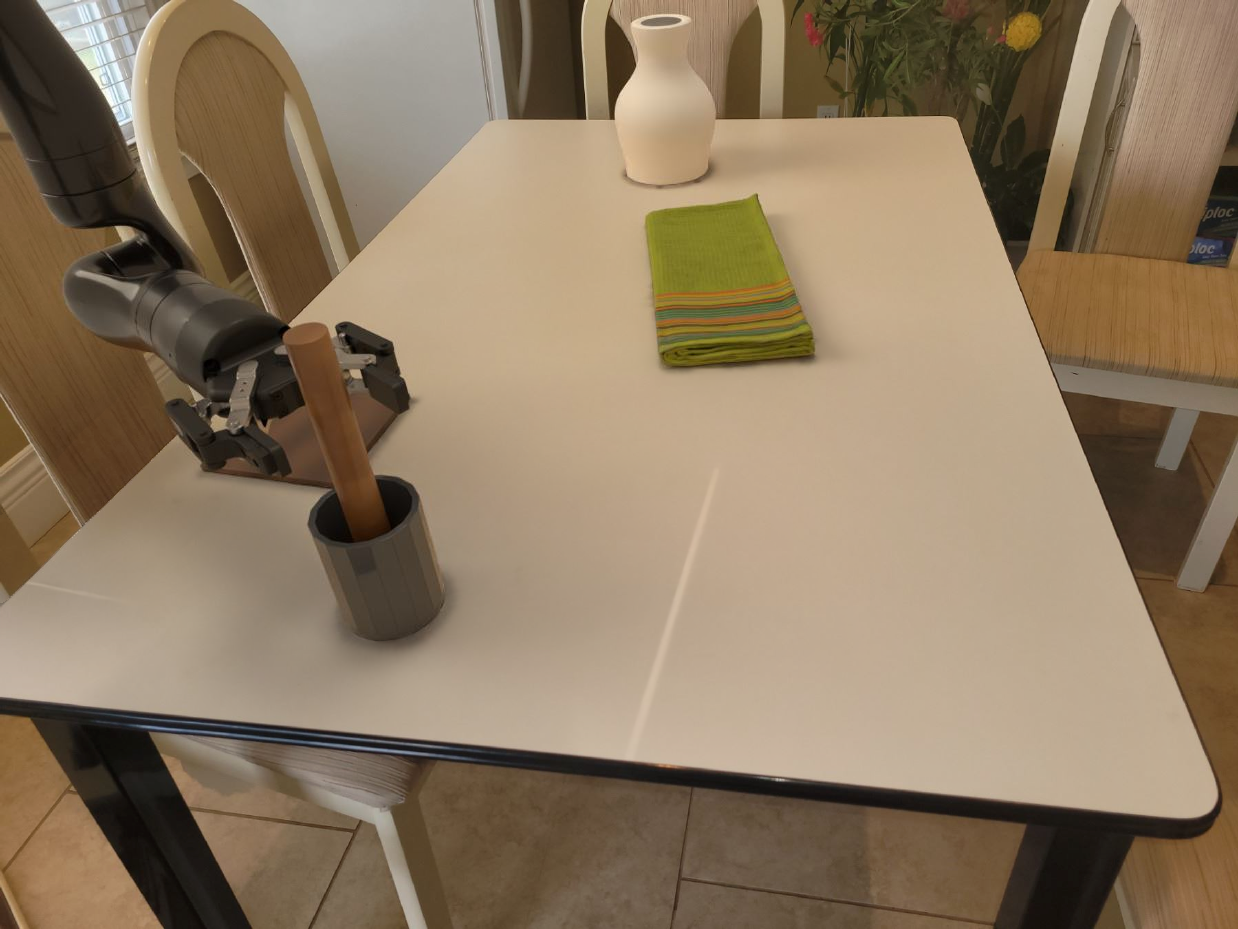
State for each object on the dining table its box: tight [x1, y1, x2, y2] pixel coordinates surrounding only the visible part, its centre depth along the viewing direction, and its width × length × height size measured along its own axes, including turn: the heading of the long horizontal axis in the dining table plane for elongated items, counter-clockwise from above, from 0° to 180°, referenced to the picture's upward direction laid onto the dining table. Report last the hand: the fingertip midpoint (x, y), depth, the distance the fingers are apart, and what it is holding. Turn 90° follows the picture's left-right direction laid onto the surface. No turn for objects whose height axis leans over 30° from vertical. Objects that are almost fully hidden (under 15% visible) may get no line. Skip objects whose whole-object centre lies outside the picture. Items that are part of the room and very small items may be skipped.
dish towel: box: [644, 192, 816, 367], centre depth 100 cm, size 15×36×3 cm, turn 1°
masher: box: [283, 321, 391, 543], centre depth 58 cm, size 5×5×22 cm
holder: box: [306, 474, 446, 641], centre depth 63 cm, size 7×7×9 cm
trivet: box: [199, 393, 411, 489], centre depth 83 cm, size 14×14×1 cm
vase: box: [614, 13, 717, 186], centre depth 124 cm, size 14×14×20 cm
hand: (345, 430), depth 55 cm, fingers open, 8 cm apart
